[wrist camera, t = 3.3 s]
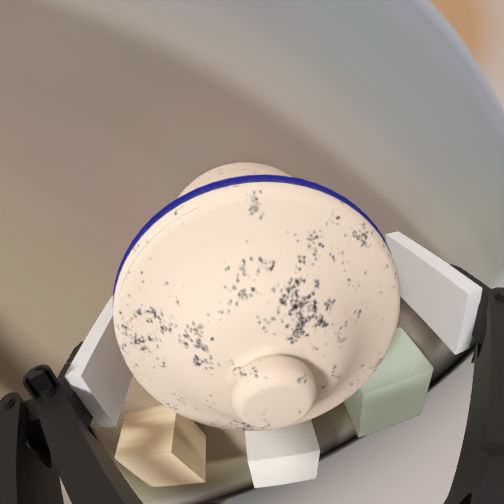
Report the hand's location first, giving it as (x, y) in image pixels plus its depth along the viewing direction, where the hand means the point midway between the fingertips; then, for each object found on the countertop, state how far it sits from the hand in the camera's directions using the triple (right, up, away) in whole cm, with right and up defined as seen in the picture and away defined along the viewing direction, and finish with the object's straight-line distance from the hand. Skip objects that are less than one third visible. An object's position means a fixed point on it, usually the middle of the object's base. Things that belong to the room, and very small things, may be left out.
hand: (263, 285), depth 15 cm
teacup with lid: (0, +1, +3) cm, 3 cm away
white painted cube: (+1, -13, +8) cm, 15 cm away
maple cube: (-8, -13, +7) cm, 17 cm away
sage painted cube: (+8, -7, +7) cm, 13 cm away
